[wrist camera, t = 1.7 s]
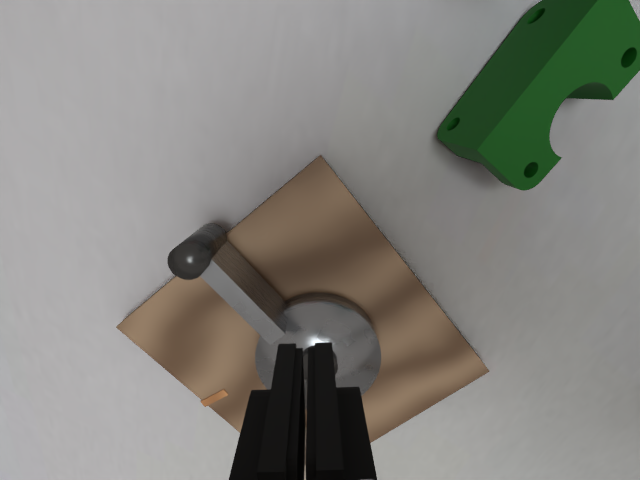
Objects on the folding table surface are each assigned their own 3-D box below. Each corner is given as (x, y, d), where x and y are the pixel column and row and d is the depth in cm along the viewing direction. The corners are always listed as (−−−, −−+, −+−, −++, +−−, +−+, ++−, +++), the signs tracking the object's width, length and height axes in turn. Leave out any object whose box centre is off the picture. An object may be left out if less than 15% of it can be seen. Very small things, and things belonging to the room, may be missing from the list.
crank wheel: (399, 351, 27) (418, 400, 22) (310, 410, 29) (308, 467, 24) (252, 183, 23) (234, 196, 18) (157, 265, 25) (116, 297, 19)
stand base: (481, 360, 30) (513, 403, 25) (300, 470, 34) (297, 526, 29) (320, 154, 24) (321, 159, 19) (124, 318, 28) (84, 357, 23)
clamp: (466, 151, 28) (503, 212, 22) (425, 112, 26) (453, 168, 20) (609, 34, 22) (715, 75, 16) (570, -31, 19) (678, -13, 13)
